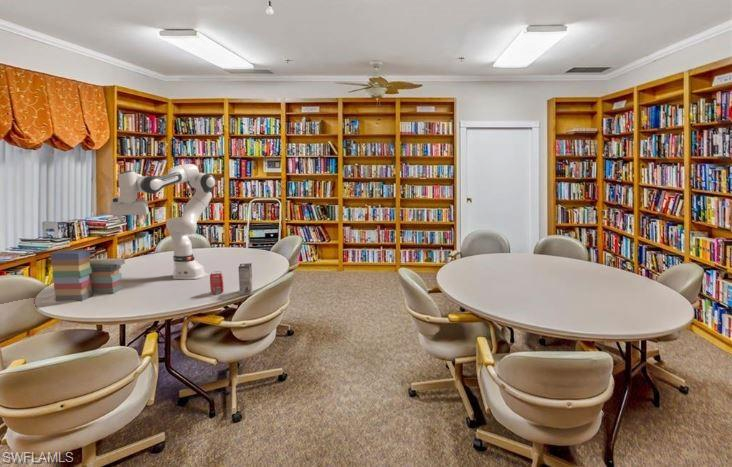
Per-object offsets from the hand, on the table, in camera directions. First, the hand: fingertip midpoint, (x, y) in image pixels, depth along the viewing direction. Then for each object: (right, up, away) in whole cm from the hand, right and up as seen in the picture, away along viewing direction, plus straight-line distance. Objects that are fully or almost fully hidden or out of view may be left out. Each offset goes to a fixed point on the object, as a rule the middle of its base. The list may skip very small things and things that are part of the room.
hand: (130, 222), depth 237 cm
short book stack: (-14, -40, -3) cm, 42 cm away
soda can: (+52, -41, -4) cm, 66 cm away
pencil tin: (-14, -24, -5) cm, 28 cm away
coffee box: (+68, -40, -2) cm, 79 cm away
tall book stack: (-22, -42, -15) cm, 49 cm away
